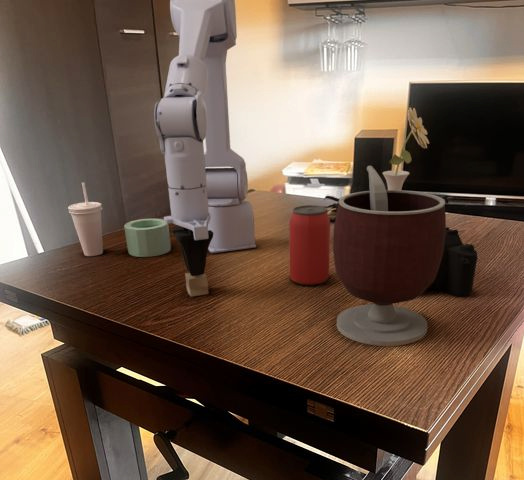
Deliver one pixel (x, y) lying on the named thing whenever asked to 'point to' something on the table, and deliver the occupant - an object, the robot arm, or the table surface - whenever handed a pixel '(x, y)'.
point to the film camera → (456, 266)
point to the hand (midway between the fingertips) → (195, 272)
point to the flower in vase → (406, 152)
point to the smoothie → (88, 225)
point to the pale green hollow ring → (147, 237)
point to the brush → (196, 284)
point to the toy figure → (332, 206)
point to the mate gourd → (387, 259)
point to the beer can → (309, 245)
